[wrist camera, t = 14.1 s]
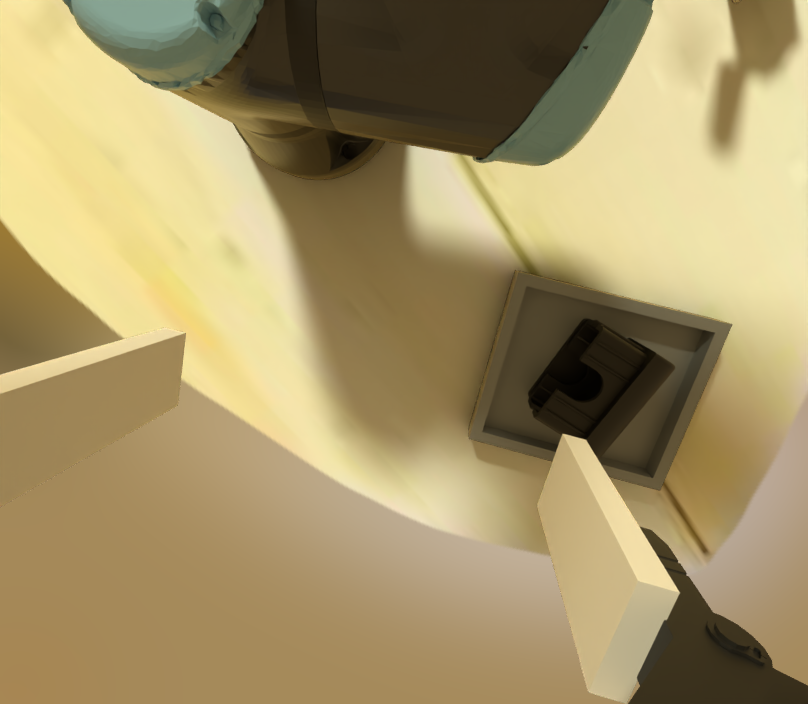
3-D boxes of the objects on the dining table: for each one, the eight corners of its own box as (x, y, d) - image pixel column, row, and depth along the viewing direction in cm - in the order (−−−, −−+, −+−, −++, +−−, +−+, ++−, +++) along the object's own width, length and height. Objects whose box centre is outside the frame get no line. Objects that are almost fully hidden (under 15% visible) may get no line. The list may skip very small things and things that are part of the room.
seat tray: (468, 427, 45) (468, 438, 43) (515, 270, 41) (518, 271, 39) (648, 476, 44) (659, 490, 42) (715, 319, 40) (732, 324, 37)
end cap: (584, 438, 43) (606, 473, 37) (522, 399, 43) (532, 427, 37) (654, 353, 41) (691, 375, 34) (588, 311, 40) (612, 324, 34)
